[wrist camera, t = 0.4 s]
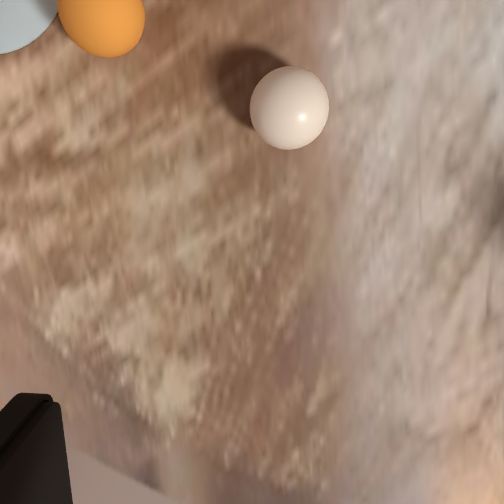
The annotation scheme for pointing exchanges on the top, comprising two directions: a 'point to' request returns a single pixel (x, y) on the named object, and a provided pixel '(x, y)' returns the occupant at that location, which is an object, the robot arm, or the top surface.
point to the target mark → (24, 22)
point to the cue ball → (289, 107)
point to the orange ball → (103, 24)
